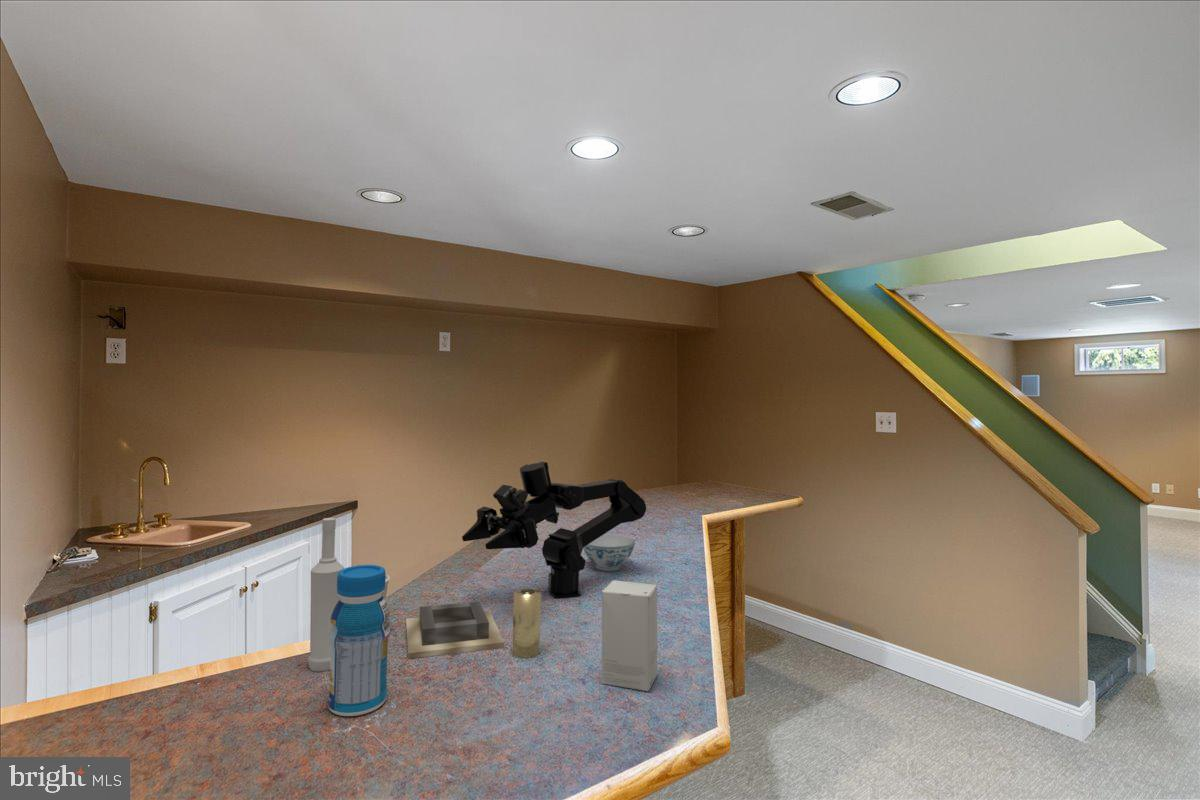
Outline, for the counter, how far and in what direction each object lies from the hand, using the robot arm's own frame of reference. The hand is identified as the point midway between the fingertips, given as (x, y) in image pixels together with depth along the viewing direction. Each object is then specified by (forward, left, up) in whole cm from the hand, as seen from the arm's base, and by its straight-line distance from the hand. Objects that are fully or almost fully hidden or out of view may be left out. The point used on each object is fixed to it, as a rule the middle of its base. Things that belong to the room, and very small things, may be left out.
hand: (474, 542), depth 121 cm
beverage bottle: (+21, +29, -16) cm, 39 cm away
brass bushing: (-7, +19, -16) cm, 26 cm away
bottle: (+27, +14, -16) cm, 34 cm away
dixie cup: (+21, -1, -16) cm, 26 cm away
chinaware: (-41, -29, -16) cm, 53 cm away
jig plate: (+5, +7, -16) cm, 18 cm away
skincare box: (-21, +34, -16) cm, 44 cm away
